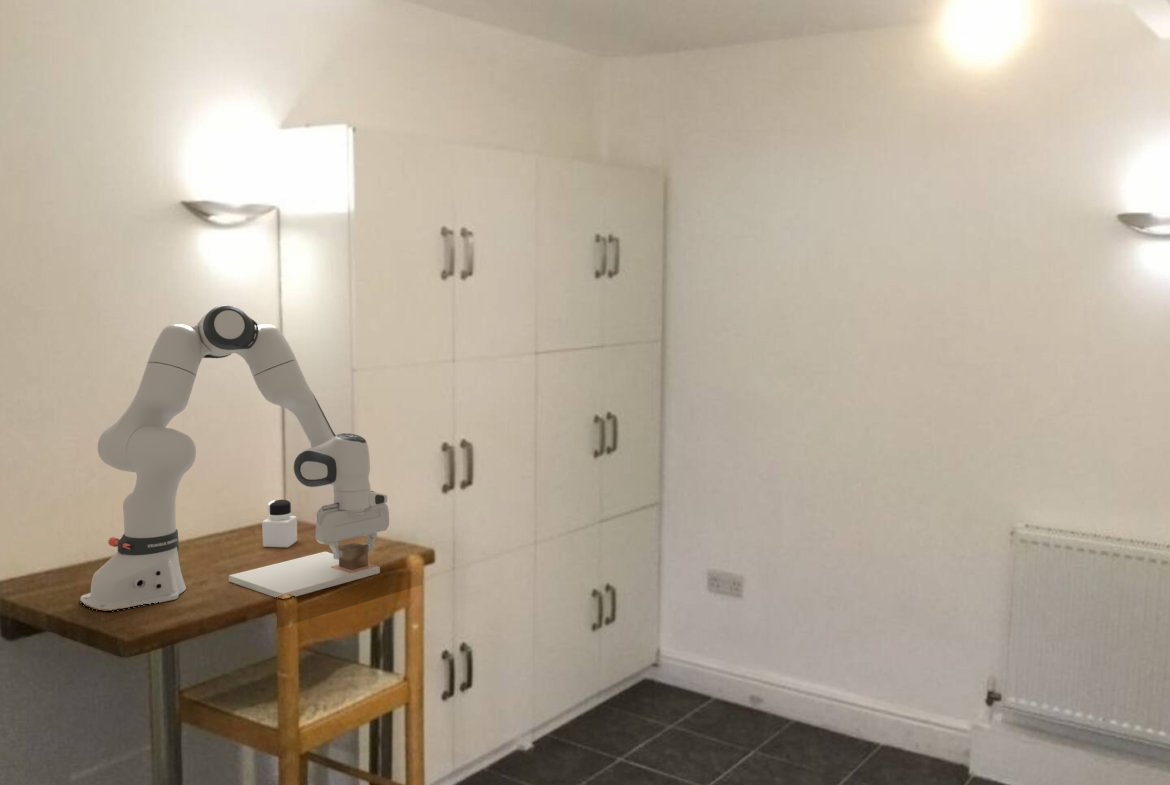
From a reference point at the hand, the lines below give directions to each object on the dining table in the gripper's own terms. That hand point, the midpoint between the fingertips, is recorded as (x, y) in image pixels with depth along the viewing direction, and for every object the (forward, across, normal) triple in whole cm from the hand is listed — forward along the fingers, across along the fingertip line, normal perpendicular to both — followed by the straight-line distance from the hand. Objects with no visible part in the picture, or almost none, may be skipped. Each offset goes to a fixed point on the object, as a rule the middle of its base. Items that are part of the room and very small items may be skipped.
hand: (353, 554), depth 263 cm
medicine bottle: (+5, +4, +37) cm, 38 cm away
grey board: (+5, -10, +6) cm, 13 cm away
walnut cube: (+3, 0, 0) cm, 3 cm away
